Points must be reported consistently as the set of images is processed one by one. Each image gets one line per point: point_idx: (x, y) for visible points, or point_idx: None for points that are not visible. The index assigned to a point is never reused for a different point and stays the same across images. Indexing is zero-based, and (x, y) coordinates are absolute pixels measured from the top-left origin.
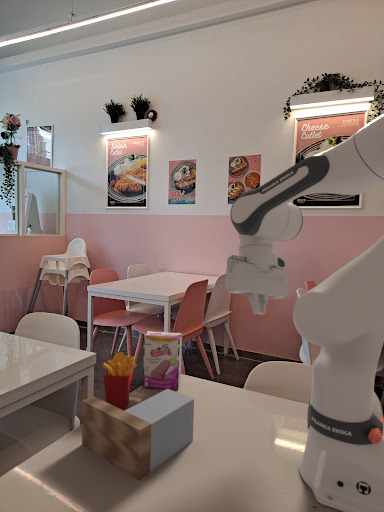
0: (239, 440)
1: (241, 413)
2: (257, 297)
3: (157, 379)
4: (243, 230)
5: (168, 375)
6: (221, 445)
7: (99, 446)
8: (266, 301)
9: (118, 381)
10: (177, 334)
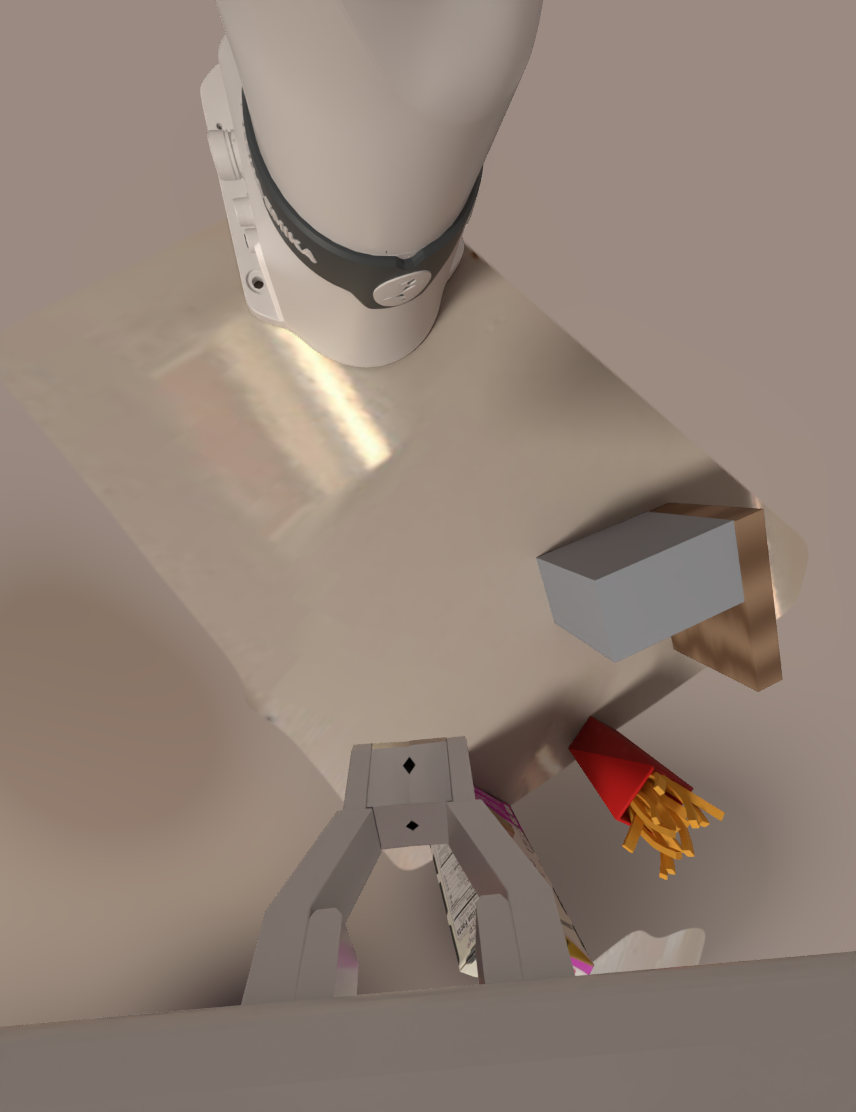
0: (453, 507)
1: (369, 601)
2: (498, 919)
3: (493, 808)
4: None
5: None
6: (498, 512)
7: None
8: (306, 885)
9: (657, 765)
10: None
